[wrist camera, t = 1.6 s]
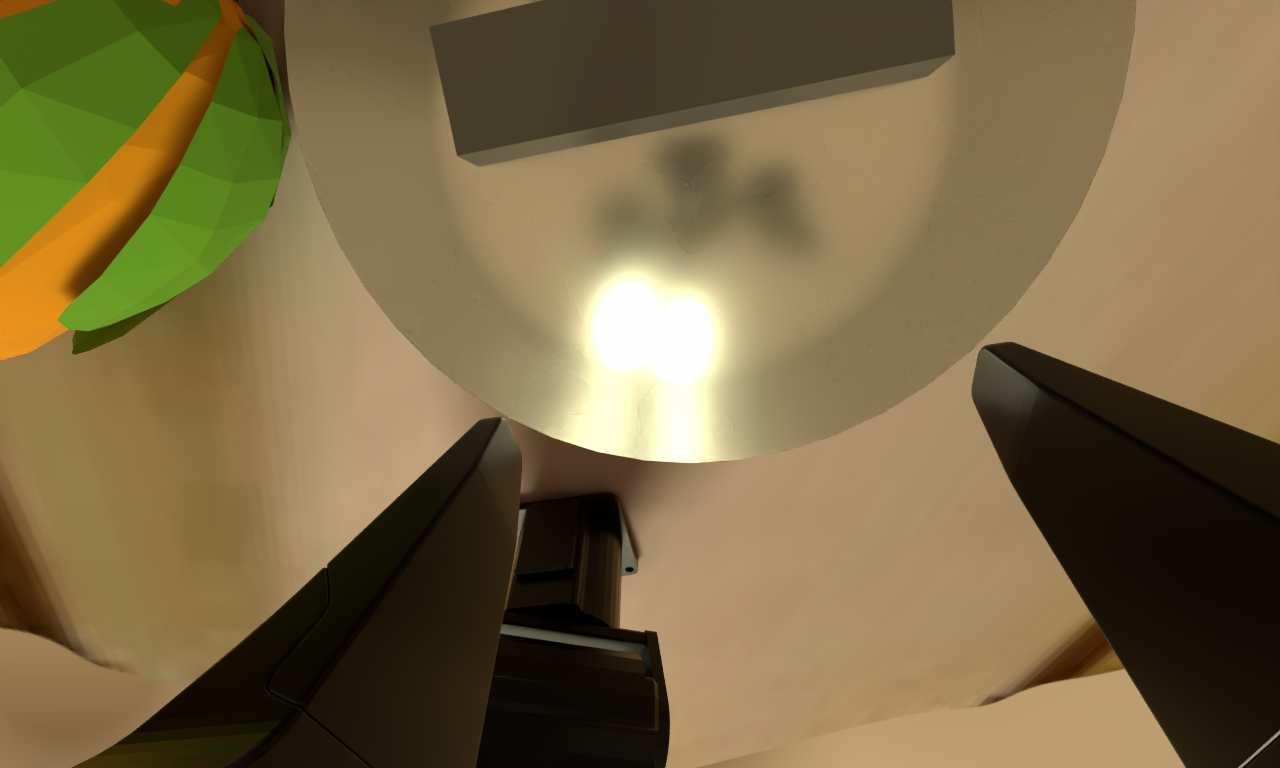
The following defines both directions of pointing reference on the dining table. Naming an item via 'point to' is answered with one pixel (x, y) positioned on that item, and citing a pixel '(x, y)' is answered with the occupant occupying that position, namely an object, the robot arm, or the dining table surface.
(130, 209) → the corn
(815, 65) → the lid
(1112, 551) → the robot arm
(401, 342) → the dining table surface
